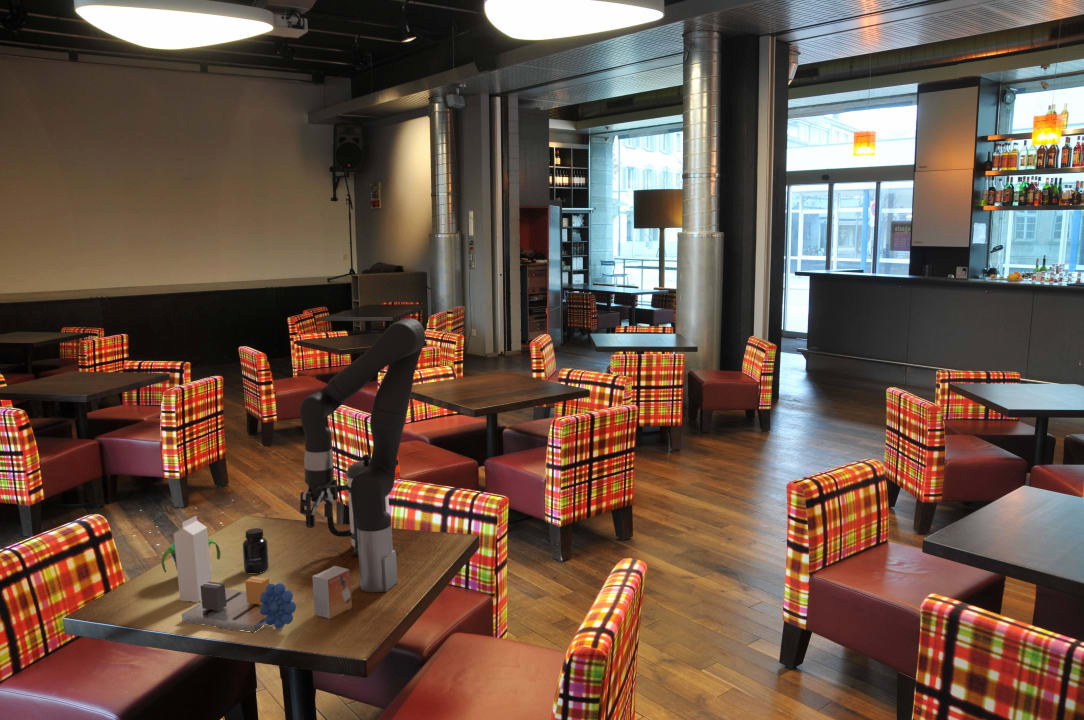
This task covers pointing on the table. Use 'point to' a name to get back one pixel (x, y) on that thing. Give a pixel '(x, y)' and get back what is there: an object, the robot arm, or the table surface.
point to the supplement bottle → (255, 551)
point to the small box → (332, 592)
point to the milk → (192, 559)
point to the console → (229, 613)
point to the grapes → (277, 605)
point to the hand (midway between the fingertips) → (319, 522)
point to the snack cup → (172, 551)
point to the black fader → (213, 596)
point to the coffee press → (350, 474)
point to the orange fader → (255, 589)
